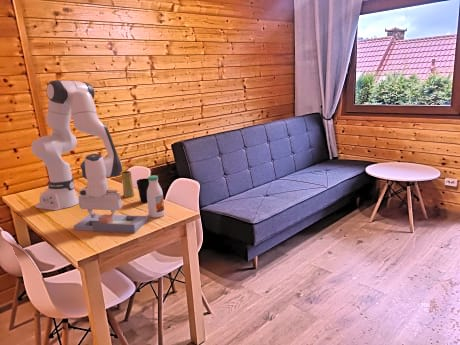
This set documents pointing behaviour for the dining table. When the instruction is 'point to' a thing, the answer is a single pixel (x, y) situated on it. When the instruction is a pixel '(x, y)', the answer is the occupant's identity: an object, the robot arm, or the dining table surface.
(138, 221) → the board
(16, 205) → the dining table surface
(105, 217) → the block
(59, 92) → the robot arm
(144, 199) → the cup
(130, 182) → the vase
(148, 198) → the milk bottle
